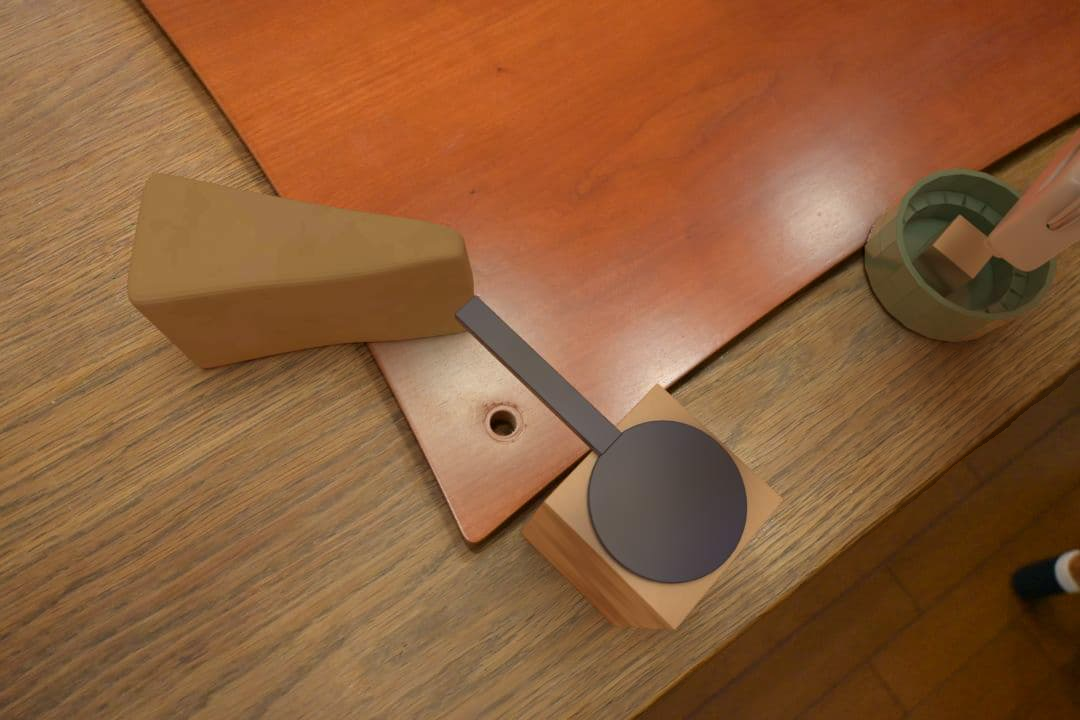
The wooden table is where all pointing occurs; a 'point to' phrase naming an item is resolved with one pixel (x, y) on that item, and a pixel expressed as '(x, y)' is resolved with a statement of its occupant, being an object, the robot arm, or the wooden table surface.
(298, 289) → the tan wooden wedge
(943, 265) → the wooden block
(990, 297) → the green round bowl
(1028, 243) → the robot arm
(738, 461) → the spoon stand
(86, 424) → the wooden table surface
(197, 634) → the wooden table surface
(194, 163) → the wooden table surface
